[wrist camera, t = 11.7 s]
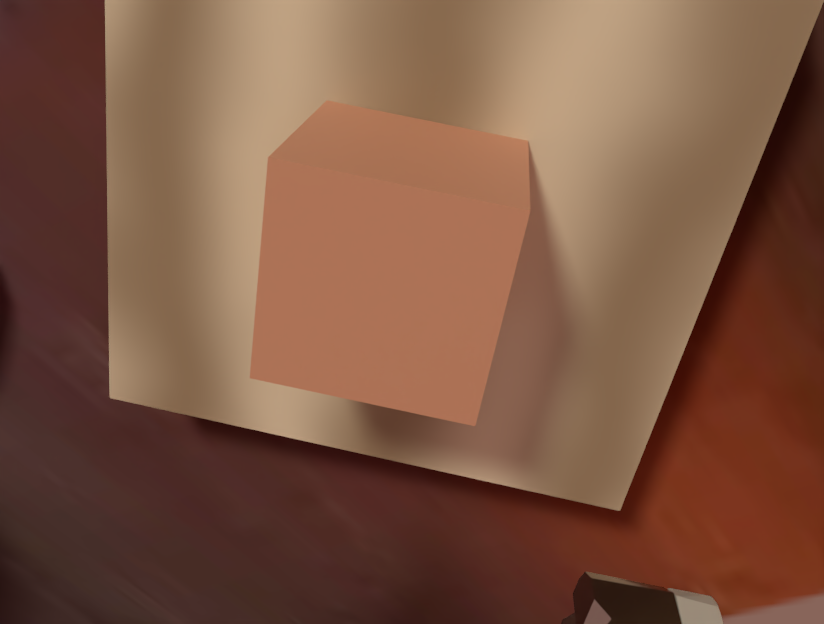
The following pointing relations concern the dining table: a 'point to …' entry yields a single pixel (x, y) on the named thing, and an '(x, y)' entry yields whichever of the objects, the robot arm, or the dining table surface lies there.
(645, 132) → the birch base
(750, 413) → the dining table surface
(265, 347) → the terracotta block
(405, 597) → the dining table surface
